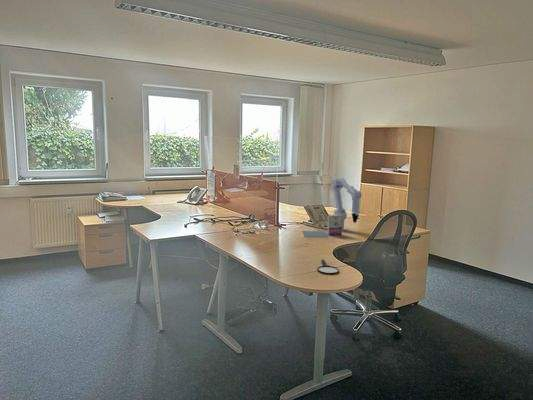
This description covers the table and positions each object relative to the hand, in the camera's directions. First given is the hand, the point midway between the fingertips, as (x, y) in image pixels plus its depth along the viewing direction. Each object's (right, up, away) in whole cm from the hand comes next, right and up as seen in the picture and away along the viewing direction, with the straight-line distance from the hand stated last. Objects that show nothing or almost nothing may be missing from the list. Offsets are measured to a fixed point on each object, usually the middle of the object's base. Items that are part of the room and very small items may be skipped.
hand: (354, 222), depth 334 cm
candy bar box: (-17, -10, 0) cm, 20 cm away
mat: (-32, -10, 0) cm, 34 cm away
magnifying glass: (-36, -24, -86) cm, 96 cm away
